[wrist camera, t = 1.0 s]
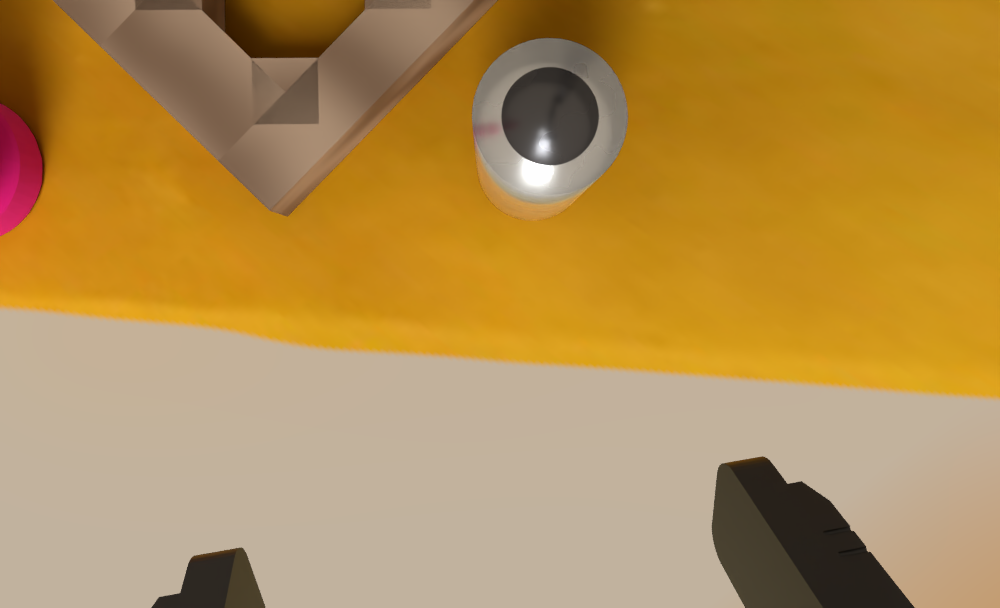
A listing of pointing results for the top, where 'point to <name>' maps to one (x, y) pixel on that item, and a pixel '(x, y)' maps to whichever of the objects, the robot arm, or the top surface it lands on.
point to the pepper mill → (17, 170)
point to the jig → (275, 81)
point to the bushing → (546, 126)
